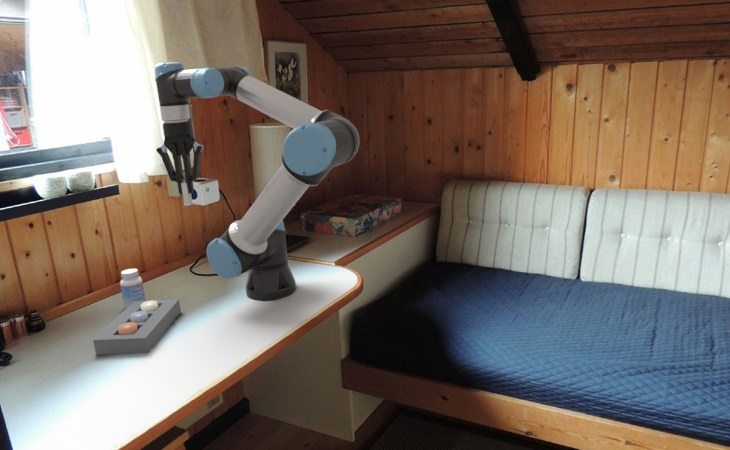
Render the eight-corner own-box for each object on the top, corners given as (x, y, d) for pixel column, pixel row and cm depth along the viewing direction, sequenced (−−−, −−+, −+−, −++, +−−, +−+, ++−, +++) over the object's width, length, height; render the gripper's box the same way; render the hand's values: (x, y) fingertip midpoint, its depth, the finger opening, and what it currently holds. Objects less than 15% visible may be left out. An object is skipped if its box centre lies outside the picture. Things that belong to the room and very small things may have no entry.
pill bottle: (139, 311, 166) (132, 274, 163) (120, 310, 167) (113, 274, 164) (150, 303, 172) (144, 267, 169) (132, 302, 173) (126, 267, 170)
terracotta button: (141, 336, 147) (139, 321, 146) (134, 344, 143) (132, 329, 142) (125, 336, 148) (122, 322, 146) (117, 344, 143) (114, 330, 142)
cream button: (161, 313, 161) (159, 300, 160) (156, 320, 157) (153, 306, 156) (146, 314, 161) (144, 300, 160) (140, 320, 157) (137, 307, 156)
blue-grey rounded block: (152, 324, 154) (150, 310, 153) (145, 331, 150) (143, 317, 149) (136, 324, 154) (133, 311, 153) (129, 332, 150) (126, 318, 149)
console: (181, 312, 164) (179, 299, 163) (148, 352, 141) (145, 337, 139) (136, 314, 164) (133, 301, 163) (96, 354, 141) (93, 340, 140)
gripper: (203, 118, 161) (214, 200, 167) (158, 121, 162) (170, 202, 168) (195, 121, 154) (207, 206, 160) (147, 123, 154) (161, 208, 161)
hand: (188, 204), depth 164 cm, fingers closed
